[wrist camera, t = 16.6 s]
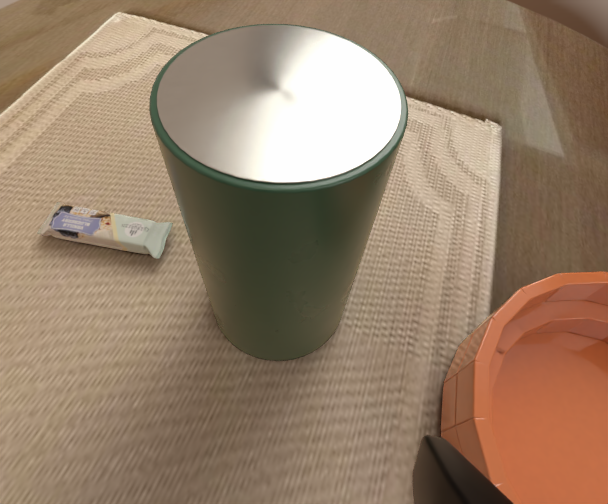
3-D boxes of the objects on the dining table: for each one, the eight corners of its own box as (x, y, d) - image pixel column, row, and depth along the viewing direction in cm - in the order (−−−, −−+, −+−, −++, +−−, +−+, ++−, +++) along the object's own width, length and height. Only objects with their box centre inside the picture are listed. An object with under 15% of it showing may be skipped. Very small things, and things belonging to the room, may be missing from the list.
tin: (247, 387, 18) (209, 233, 8) (193, 272, 21) (115, 52, 11) (368, 322, 20) (463, 133, 10) (304, 225, 23) (326, 3, 13)
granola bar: (177, 229, 22) (173, 217, 21) (162, 264, 21) (157, 254, 20) (61, 206, 23) (52, 194, 22) (39, 240, 21) (28, 229, 21)
